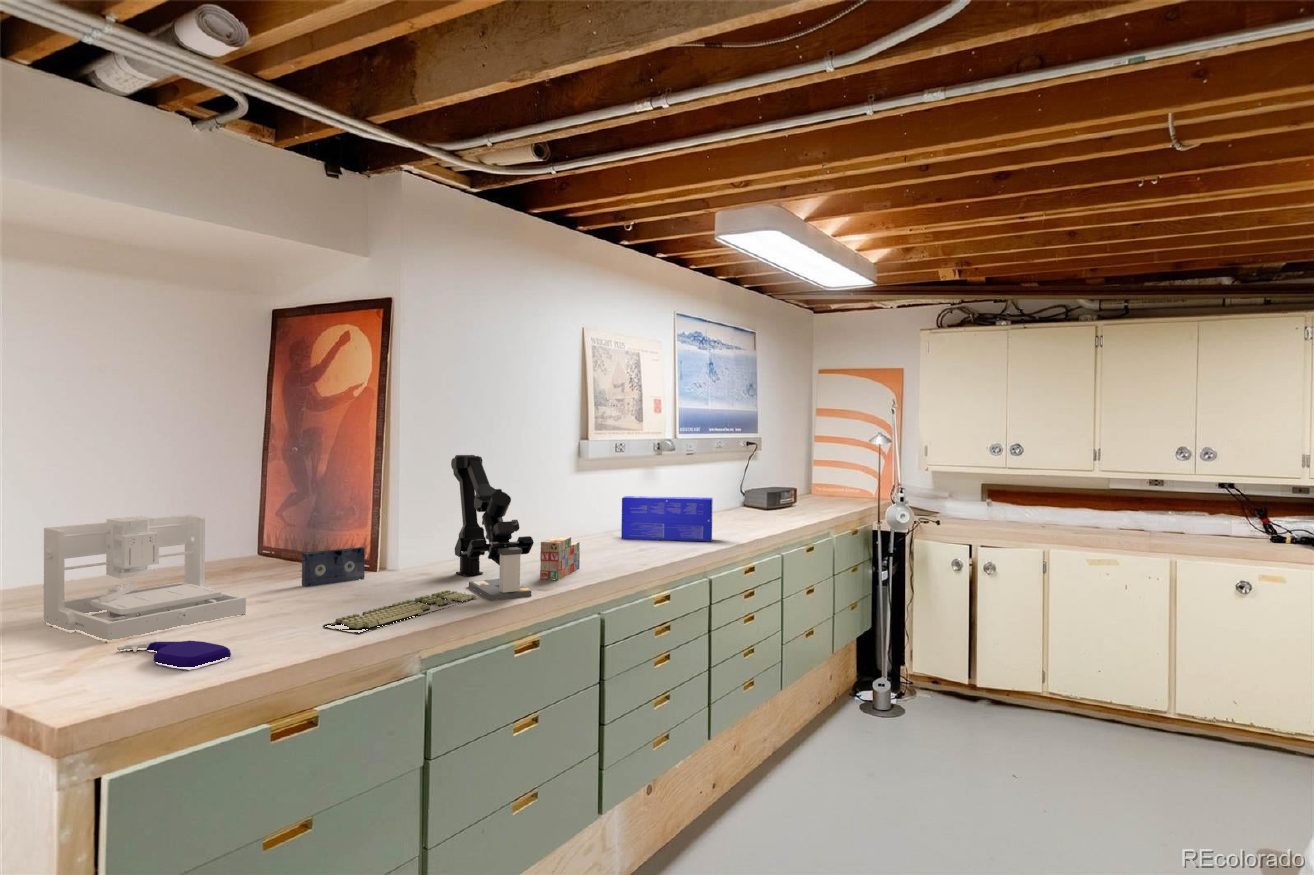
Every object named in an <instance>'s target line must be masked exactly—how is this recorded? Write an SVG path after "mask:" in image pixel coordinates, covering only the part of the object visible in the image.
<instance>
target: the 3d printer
mask: <svg viewBox="0 0 1314 875" xmlns="http://www.w3.org/2000/svg"><path fill="white" fill-rule="evenodd" d="M205 538H206V517H205V516H198V515H193V514H185V515H173V516H171V515H170V516H162V517H161V516H160V517H147V516H142V515H138V516H129V517H128V516H126V517H116V518H115V517H114V518H106V521H104V522H97V523H96V522H95V523H84V524H75V525H73V524H72V525H61V526H60V525H59V526H52V527H44V528H43V619H44V621H45V623H46V622H47V623H49V624H51V625H56V626H58V627H61V628H64V629H67V630H75V629H76V630H80V631H83V632H85V633H87V634H90V635H94V636H96V637H99V638H102V639H107V640H112V639H120V638H125V637H129V636H133V635H141V634H145V633H150V632H154V631H157V630H165V629H169V628H172V627H177V626H181V625H190V624H194V623H198V622H203V621H211V620H215V619H220V618H224V617H230V616H237V615H241V614H246V615H247V613H246V612H247V610H246V609H247V607H246V606H247V605H246V604H247V598H246V597H245V596H240V595H236V594H233V593H228V592H224V591H222V590H218V589H215V588H213V587H209V586H205V577H206V574H205V572H206V571H205V568H206V567H205V564H206V560H205V557H206V555H205V554H206V553H205V552H206V551H205V550H206V544H205V542H206V541H205V540H206V539H205ZM182 545H184V551H182V552H176V553H167V554H160V548H164V547H165V548H166V547H174V546H182ZM98 555H105V558H106V561H105V562H97V563H91V564H90V563H88V564H80V565H74V566H66V567H65V559H67V560H68V559H74V558H82V557H90V556H98ZM181 555H182V556H183V555H184V582H182V581H181V582H174V583H169V584H168V583H167V584H162V585H156V586H149V587H143V588H138V586H139V582H138V581H131V582H130V583H128V584H125V585H123V584H122V583H120V584H115V585H114V586H113V587H112V588H111V589H110V588H109V589H108V590H107V593H105V594H100V595H94V596H87V597H80V598H74V599H73V598H72V599H69V600H65V571H67V570H75V569H77V570H78V569H83V568H90V567H98V566H105V569H106V571H105V573H106V574H105V575H106V576H109V577H113V578H117V579H128V578H133V577H140V576H147V575H154V574H156V569H155V568H152V567H149V566H151V565H159V563H160V561H159V560H160V558H167V557H174V556H181ZM102 610H107V612H106V613H107V615H106V616H107V617H108V618H111V619H115V618H122V617H126V619H119V620H114V621H110V620H107V619H104V618H101V617H97V616H95V615H88V614H85V613H89V612H99V611H102Z"/></svg>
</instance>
